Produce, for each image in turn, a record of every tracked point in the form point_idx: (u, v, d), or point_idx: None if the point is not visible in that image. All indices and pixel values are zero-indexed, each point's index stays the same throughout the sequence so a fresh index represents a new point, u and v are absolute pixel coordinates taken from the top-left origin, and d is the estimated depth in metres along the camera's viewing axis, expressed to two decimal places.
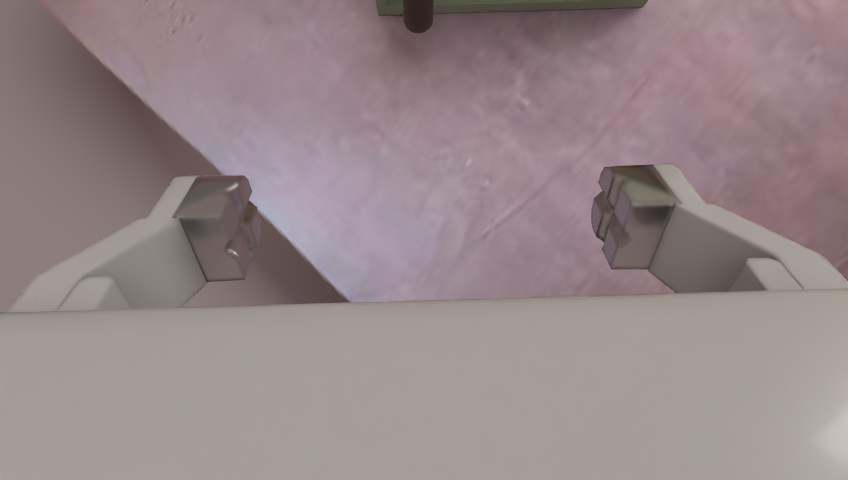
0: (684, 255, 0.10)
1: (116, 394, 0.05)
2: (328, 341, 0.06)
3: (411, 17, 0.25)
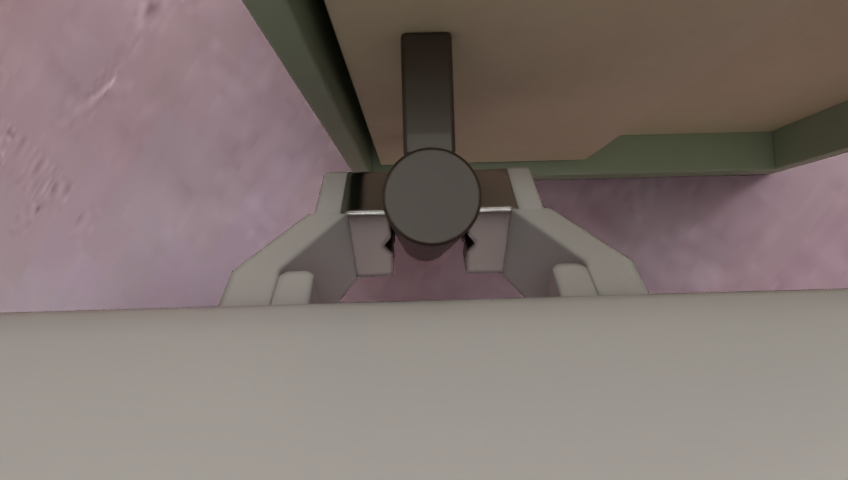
0: (524, 259, 0.10)
1: (116, 394, 0.05)
2: (328, 341, 0.06)
3: (414, 256, 0.14)
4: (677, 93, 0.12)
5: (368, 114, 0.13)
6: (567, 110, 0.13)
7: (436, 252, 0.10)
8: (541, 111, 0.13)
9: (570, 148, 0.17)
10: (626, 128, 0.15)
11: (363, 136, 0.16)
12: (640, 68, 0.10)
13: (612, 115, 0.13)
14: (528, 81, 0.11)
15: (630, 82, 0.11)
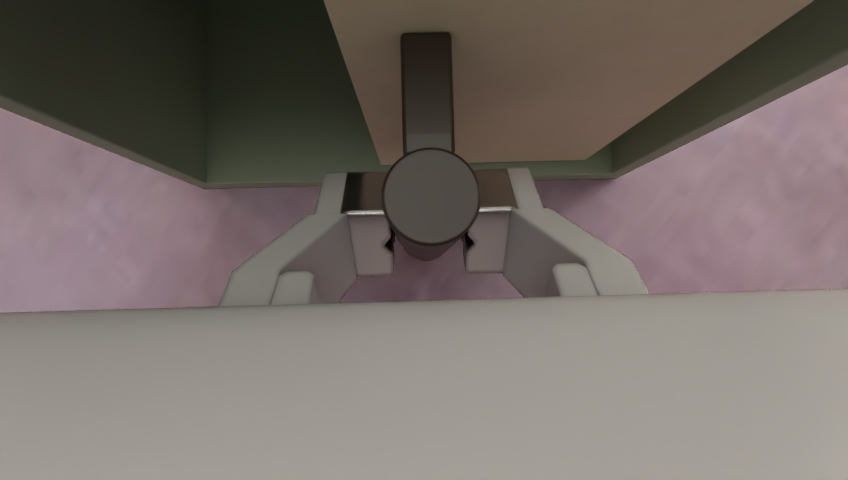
0: (524, 259, 0.10)
1: (116, 394, 0.05)
2: (328, 341, 0.06)
3: (413, 256, 0.14)
4: (677, 93, 0.12)
5: (368, 115, 0.13)
6: (567, 110, 0.13)
7: (436, 252, 0.10)
8: (541, 111, 0.13)
9: (570, 148, 0.17)
10: (626, 128, 0.15)
11: (165, 141, 0.16)
12: (640, 68, 0.10)
13: (612, 115, 0.13)
14: (528, 81, 0.11)
15: (629, 83, 0.11)
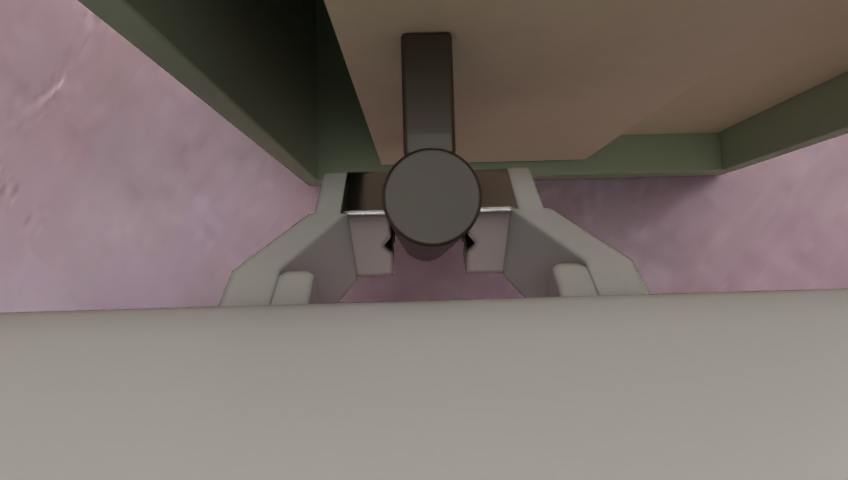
0: (524, 259, 0.10)
1: (116, 394, 0.05)
2: (328, 341, 0.06)
3: (414, 256, 0.14)
4: (677, 93, 0.12)
5: (368, 115, 0.13)
6: (567, 110, 0.13)
7: (436, 252, 0.10)
8: (541, 111, 0.13)
9: (570, 148, 0.17)
10: (626, 128, 0.15)
11: (298, 138, 0.16)
12: (641, 68, 0.10)
13: (612, 115, 0.13)
14: (529, 81, 0.11)
15: (630, 82, 0.11)
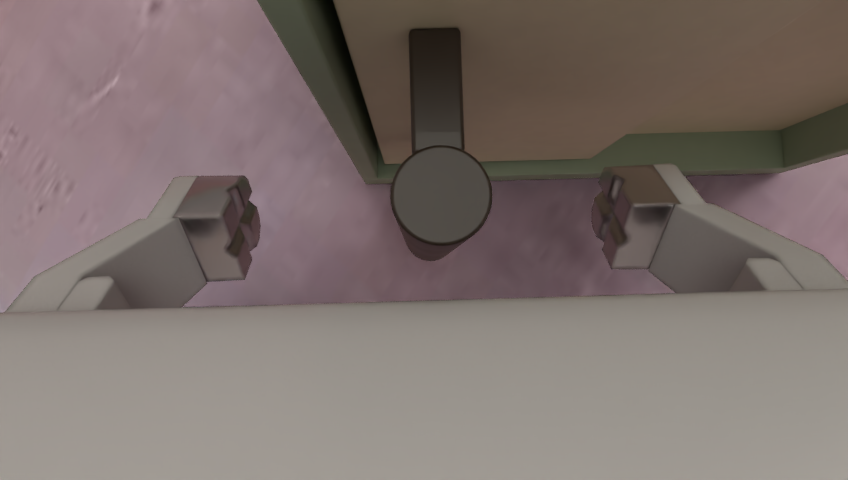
0: (684, 255, 0.10)
1: (116, 394, 0.05)
2: (328, 341, 0.06)
3: (419, 256, 0.14)
4: (687, 91, 0.12)
5: (373, 112, 0.13)
6: (575, 108, 0.13)
7: (444, 252, 0.10)
8: (548, 109, 0.13)
9: (576, 147, 0.17)
10: (633, 126, 0.14)
11: (369, 135, 0.16)
12: (651, 64, 0.10)
13: (620, 113, 0.13)
14: (536, 79, 0.11)
15: (639, 79, 0.11)
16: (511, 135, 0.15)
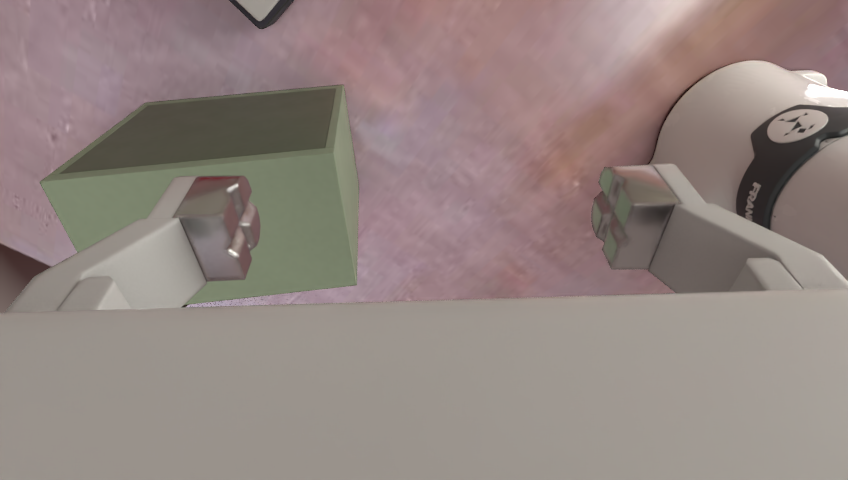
0: (684, 255, 0.10)
1: (116, 394, 0.05)
2: (328, 341, 0.06)
3: None
4: None
5: None
6: None
7: None
8: None
9: None
10: None
11: None
12: None
13: None
14: None
15: None
16: None
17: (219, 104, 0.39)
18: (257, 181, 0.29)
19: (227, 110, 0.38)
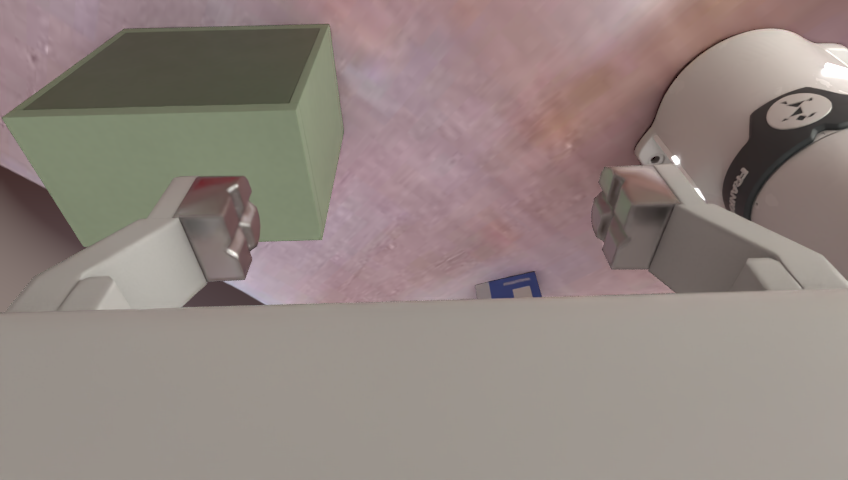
0: (684, 255, 0.10)
1: (116, 394, 0.05)
2: (328, 341, 0.06)
3: None
4: None
5: None
6: None
7: None
8: None
9: None
10: None
11: None
12: None
13: None
14: None
15: None
16: None
17: (197, 38, 0.38)
18: (219, 133, 0.29)
19: (203, 46, 0.36)
